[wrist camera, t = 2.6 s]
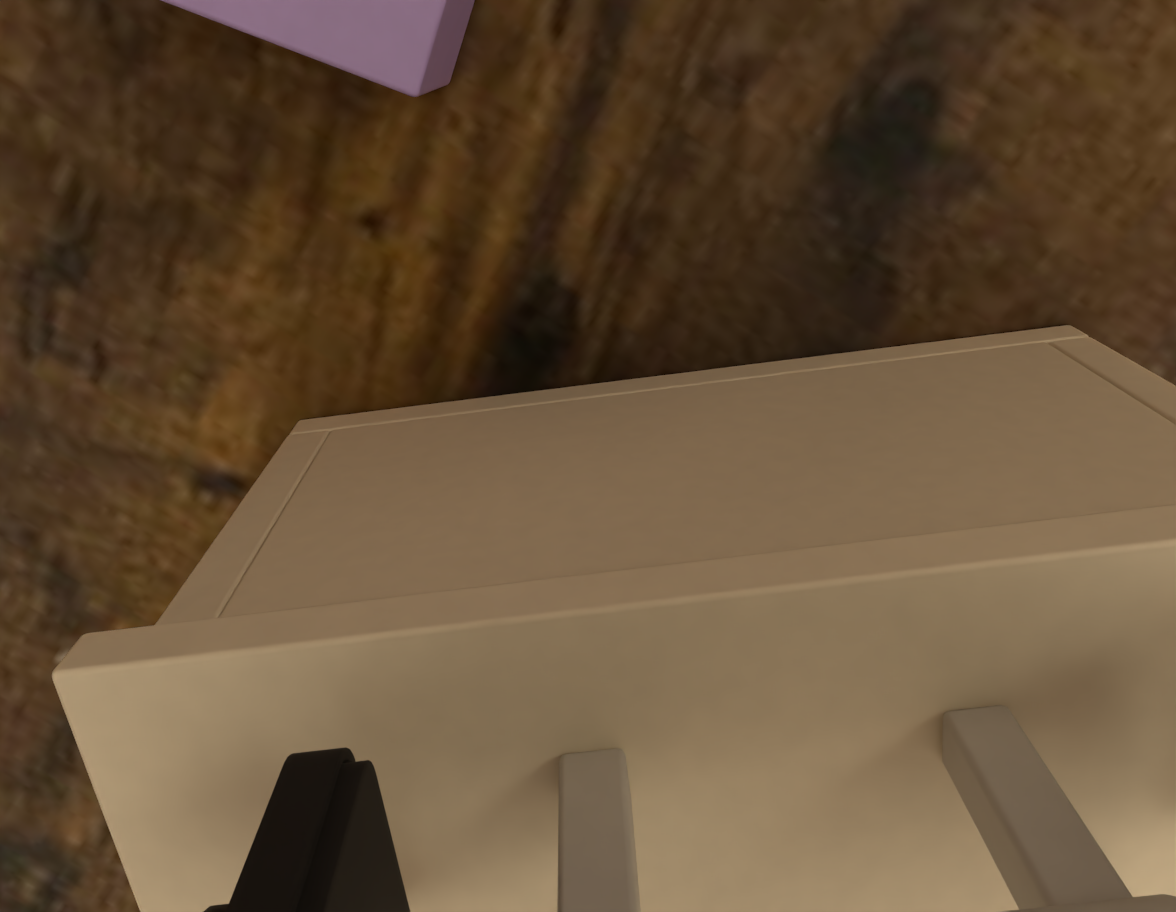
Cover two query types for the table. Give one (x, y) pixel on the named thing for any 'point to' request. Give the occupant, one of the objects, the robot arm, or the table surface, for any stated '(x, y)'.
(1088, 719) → the lid
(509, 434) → the compartment
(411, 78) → the block
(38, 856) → the table surface
